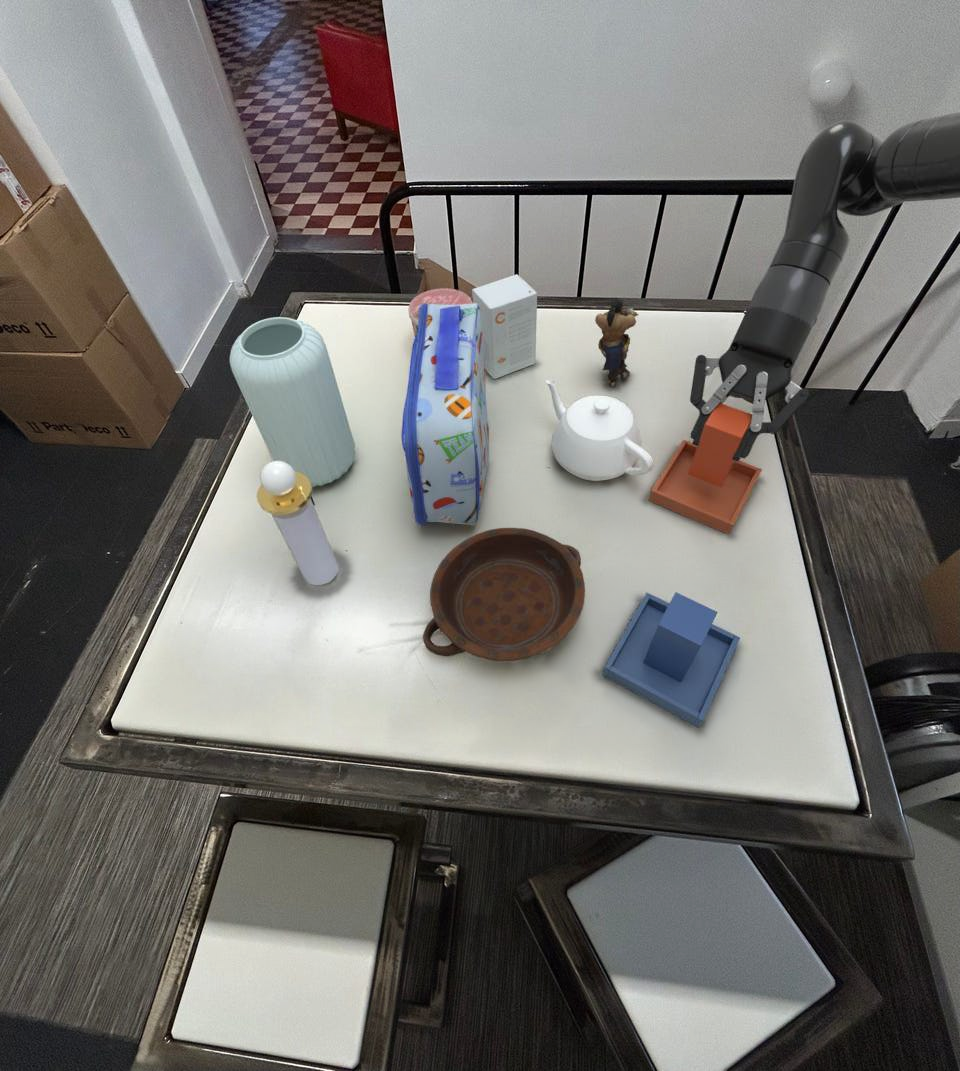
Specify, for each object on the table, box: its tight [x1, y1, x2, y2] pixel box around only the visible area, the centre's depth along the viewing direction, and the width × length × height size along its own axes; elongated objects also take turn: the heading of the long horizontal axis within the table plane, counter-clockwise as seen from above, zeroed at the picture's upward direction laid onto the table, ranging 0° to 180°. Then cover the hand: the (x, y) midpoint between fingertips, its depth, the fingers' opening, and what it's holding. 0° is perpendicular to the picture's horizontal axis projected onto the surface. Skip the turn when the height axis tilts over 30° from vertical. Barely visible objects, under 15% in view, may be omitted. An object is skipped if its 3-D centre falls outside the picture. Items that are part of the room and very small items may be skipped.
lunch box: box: [401, 302, 490, 527], centre depth 80 cm, size 28×10×22 cm, turn 0°
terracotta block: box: [688, 403, 752, 487], centre depth 77 cm, size 4×4×9 cm
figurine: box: [594, 298, 639, 388], centre depth 92 cm, size 7×6×15 cm
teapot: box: [545, 379, 655, 482], centre depth 84 cm, size 20×12×10 cm, turn 39°
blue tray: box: [602, 592, 741, 728], centre depth 68 cm, size 11×11×2 cm
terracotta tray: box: [648, 439, 763, 535], centre depth 83 cm, size 11×11×2 cm
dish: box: [422, 527, 586, 662], centre depth 72 cm, size 18×22×5 cm
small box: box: [471, 273, 538, 380], centre depth 97 cm, size 8×6×13 cm
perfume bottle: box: [256, 460, 339, 586], centre depth 70 cm, size 6×6×20 cm
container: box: [407, 287, 473, 337], centre depth 102 cm, size 10×10×8 cm
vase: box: [229, 316, 356, 488], centre depth 81 cm, size 12×12×22 cm
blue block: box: [643, 591, 718, 682], centre depth 65 cm, size 4×4×9 cm
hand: (715, 452), depth 76 cm, fingers closed on terracotta block, 4 cm apart
